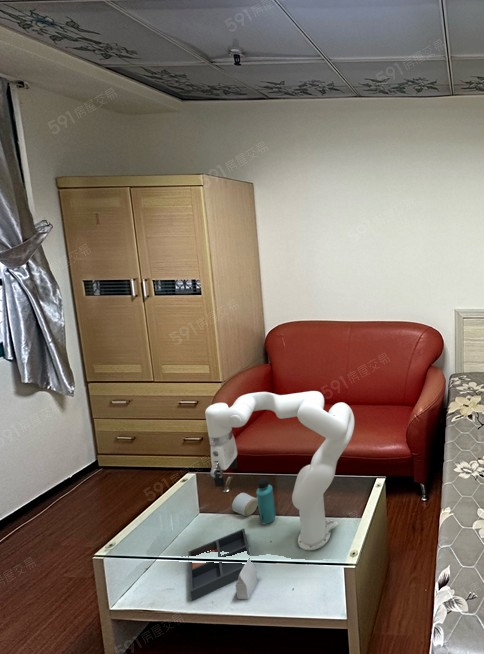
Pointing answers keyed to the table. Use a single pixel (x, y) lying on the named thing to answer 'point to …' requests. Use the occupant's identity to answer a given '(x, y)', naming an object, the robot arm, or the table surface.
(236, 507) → the ceramic mug
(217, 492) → the table surface
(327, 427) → the robot arm
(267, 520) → the beverage bottle
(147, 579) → the table surface
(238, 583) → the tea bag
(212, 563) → the tray
